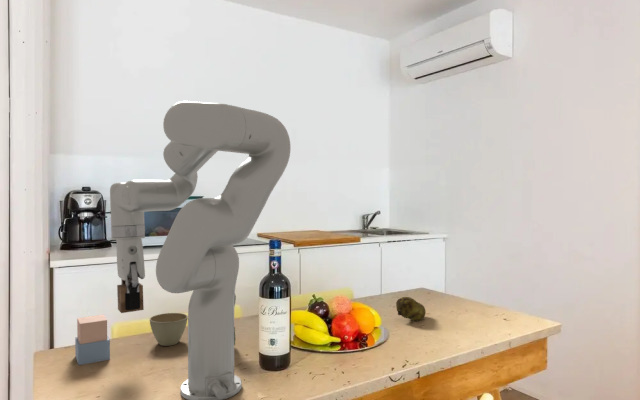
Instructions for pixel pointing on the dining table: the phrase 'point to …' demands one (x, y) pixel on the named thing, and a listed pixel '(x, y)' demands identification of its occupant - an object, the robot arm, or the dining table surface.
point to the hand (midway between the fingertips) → (130, 306)
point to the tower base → (92, 351)
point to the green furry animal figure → (410, 308)
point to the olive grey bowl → (168, 327)
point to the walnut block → (121, 298)
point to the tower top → (91, 329)
